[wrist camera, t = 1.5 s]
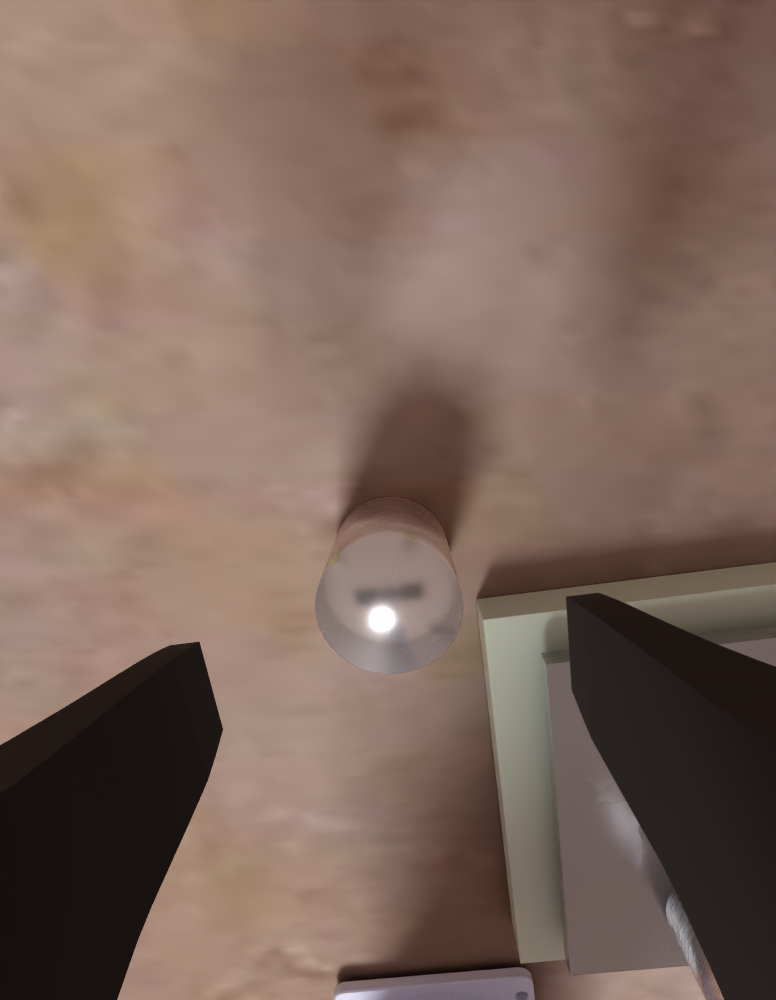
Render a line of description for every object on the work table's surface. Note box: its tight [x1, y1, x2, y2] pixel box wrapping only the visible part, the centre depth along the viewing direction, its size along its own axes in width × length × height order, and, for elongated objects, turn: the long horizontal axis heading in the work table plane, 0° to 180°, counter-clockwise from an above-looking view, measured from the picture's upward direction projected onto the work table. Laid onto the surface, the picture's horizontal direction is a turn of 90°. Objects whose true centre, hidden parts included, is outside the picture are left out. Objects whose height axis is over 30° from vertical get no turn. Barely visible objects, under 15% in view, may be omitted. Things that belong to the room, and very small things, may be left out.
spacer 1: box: [315, 497, 463, 674], centre depth 14 cm, size 4×4×4 cm
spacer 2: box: [666, 889, 724, 1000], centre depth 14 cm, size 4×4×4 cm
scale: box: [476, 562, 776, 964], centre depth 17 cm, size 14×14×2 cm
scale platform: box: [541, 625, 776, 975], centre depth 16 cm, size 12×10×2 cm
